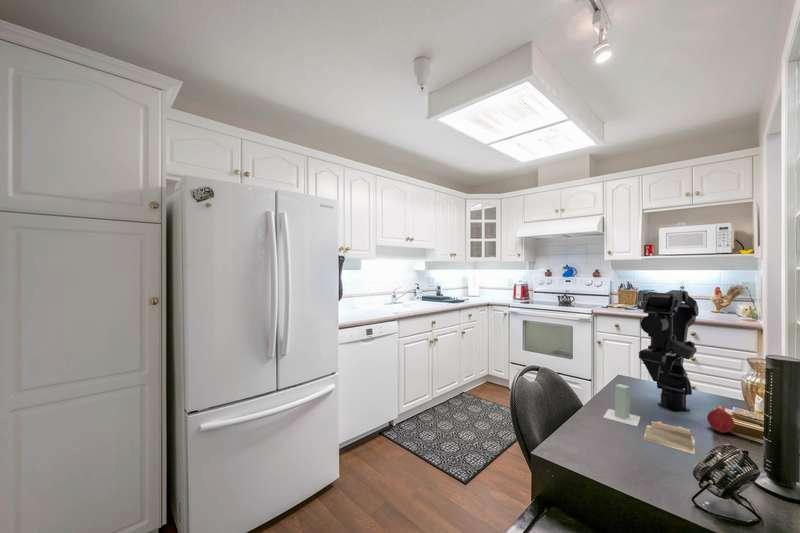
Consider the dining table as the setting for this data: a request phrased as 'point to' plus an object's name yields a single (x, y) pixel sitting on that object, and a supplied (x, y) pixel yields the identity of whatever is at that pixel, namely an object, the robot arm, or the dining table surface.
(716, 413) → the onion
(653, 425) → the offcut rack
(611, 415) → the mat
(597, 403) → the dining table surface
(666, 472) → the dining table surface
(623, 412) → the pale green rectangular block
